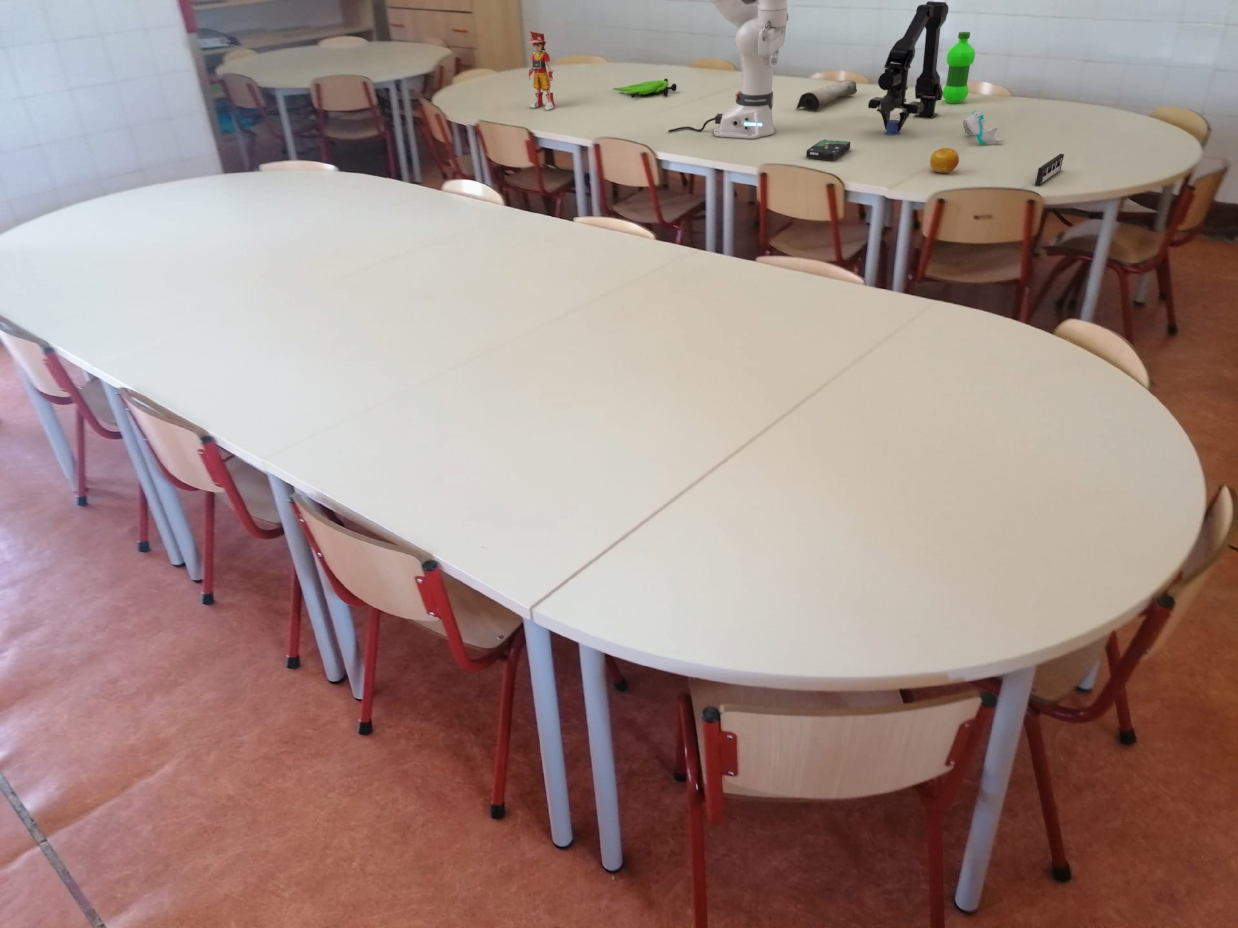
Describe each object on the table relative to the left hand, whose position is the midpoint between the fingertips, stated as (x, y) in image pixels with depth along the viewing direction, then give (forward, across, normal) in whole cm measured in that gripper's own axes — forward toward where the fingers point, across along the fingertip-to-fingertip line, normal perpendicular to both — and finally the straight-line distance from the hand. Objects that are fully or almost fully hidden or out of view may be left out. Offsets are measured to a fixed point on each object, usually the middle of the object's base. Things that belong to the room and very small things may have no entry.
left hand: (770, 67), depth 282 cm
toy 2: (+31, +94, +80) cm, 127 cm away
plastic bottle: (+31, +96, -52) cm, 113 cm away
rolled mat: (+31, +87, -4) cm, 93 cm away
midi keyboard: (+31, +5, -87) cm, 92 cm away
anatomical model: (+31, +43, -64) cm, 83 cm away
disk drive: (+31, +17, -17) cm, 39 cm away
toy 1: (+30, +61, +113) cm, 132 cm away
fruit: (+31, +5, -56) cm, 64 cm away
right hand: (+30, +47, -35) cm, 66 cm away
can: (+31, +47, -35) cm, 66 cm away
